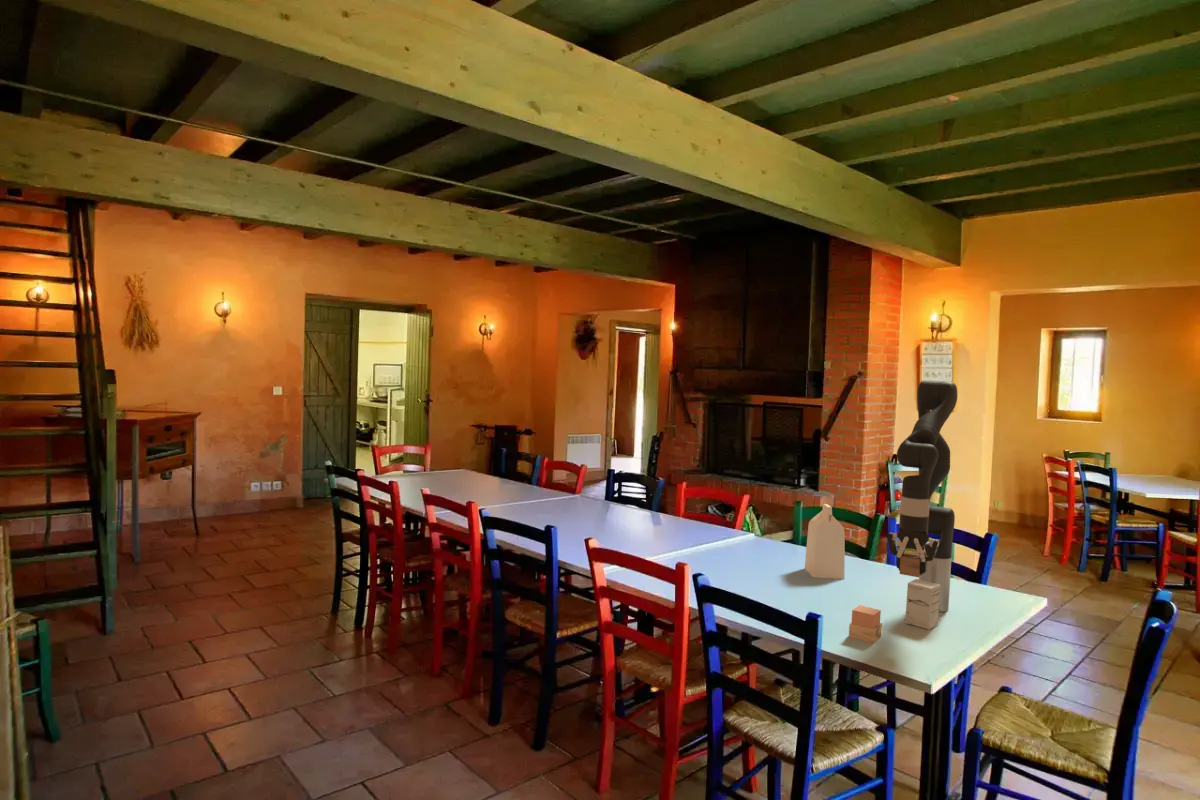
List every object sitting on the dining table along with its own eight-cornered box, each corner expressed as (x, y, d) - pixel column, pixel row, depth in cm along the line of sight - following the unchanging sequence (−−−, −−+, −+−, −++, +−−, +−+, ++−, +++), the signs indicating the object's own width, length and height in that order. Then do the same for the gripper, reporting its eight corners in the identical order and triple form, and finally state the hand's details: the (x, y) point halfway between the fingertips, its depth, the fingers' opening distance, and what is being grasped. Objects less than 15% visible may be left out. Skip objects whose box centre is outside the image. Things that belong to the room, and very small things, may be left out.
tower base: (856, 630, 204) (857, 617, 204) (881, 637, 200) (881, 623, 200) (848, 637, 199) (849, 623, 199) (873, 644, 195) (874, 629, 195)
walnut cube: (904, 570, 202) (904, 553, 202) (922, 573, 199) (923, 556, 199) (899, 573, 198) (900, 556, 198) (918, 577, 195) (919, 559, 195)
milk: (844, 578, 258) (848, 509, 257) (813, 577, 258) (816, 507, 257) (834, 569, 270) (837, 503, 269) (804, 568, 270) (807, 502, 269)
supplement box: (904, 623, 212) (906, 582, 211) (913, 618, 217) (916, 578, 217) (929, 630, 207) (931, 588, 206) (938, 624, 212) (941, 583, 211)
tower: (858, 618, 203) (859, 605, 203) (879, 623, 200) (880, 610, 199) (851, 623, 199) (852, 609, 199) (872, 629, 195) (873, 615, 195)
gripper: (944, 515, 196) (941, 574, 197) (891, 507, 205) (888, 564, 206) (938, 518, 190) (935, 580, 191) (884, 511, 199) (881, 569, 200)
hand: (911, 571), depth 198 cm, fingers closed on walnut cube, 5 cm apart
